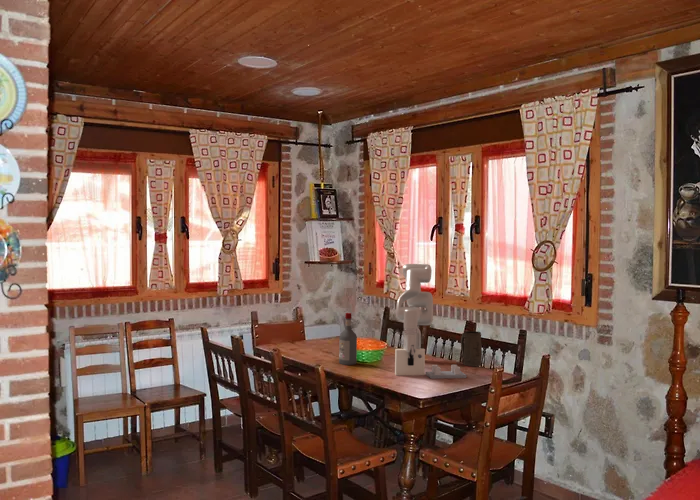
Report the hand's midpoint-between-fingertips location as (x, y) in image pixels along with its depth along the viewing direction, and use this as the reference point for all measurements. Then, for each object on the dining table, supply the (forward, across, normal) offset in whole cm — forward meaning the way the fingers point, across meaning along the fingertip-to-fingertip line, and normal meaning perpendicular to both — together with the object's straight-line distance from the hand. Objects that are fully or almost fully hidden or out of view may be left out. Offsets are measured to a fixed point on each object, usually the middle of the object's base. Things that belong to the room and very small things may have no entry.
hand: (409, 364), depth 332 cm
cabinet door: (+6, 0, 0) cm, 6 cm away
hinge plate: (+6, +5, +19) cm, 20 cm away
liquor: (+6, -32, -30) cm, 44 cm away
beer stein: (+6, -26, +43) cm, 51 cm away
